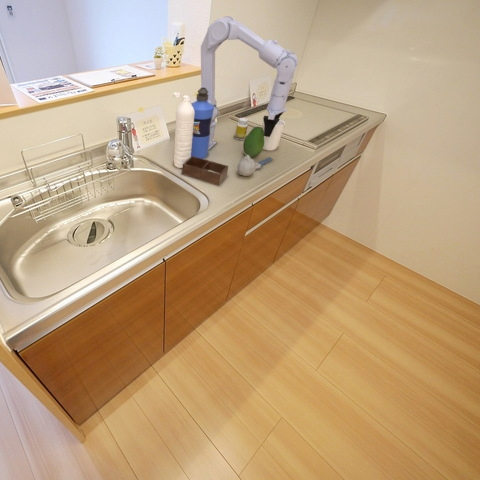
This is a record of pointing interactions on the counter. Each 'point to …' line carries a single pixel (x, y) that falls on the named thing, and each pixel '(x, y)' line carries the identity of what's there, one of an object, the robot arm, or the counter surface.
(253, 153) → the fruit
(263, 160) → the wristwatch
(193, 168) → the crate
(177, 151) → the water bottle
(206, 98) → the water bottle
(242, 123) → the supplement bottle
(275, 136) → the mug
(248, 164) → the figurine
